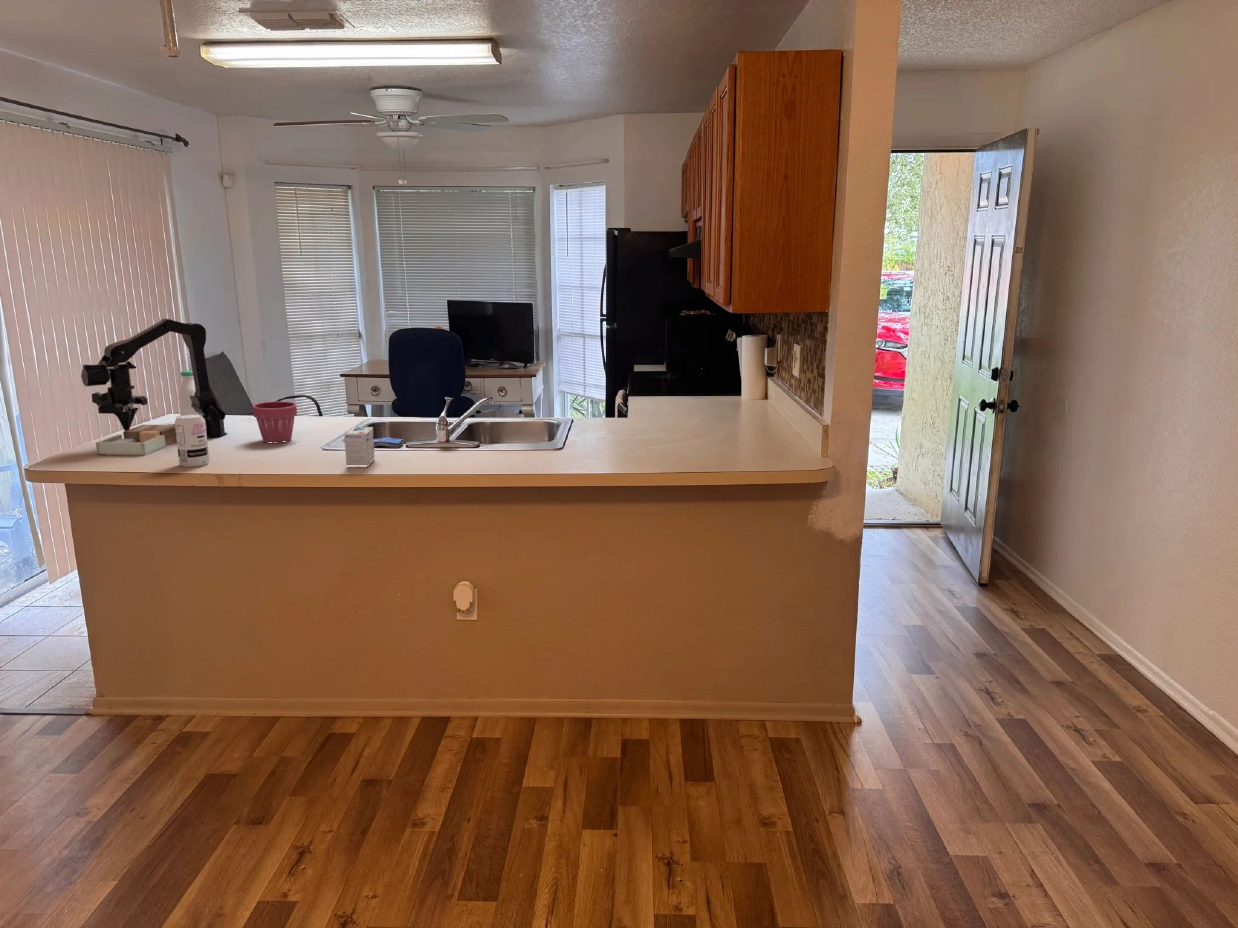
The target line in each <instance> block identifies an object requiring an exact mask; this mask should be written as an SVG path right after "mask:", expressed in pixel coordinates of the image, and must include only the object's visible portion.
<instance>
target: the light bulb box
mask: <svg viewBox="0 0 1238 928" xmlns="http://www.w3.org/2000/svg"><path fill="white" fill-rule="evenodd" d="M374 441H375V440H374V426H358V427H357V426H353V427H351V428H350V429H349V430H347V432H346V433H344V449H345V466H346V465H368V464H370V462H371V461H372V460H373V459H374V457H375V442H374ZM370 465H371V464H370Z"/></svg>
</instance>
